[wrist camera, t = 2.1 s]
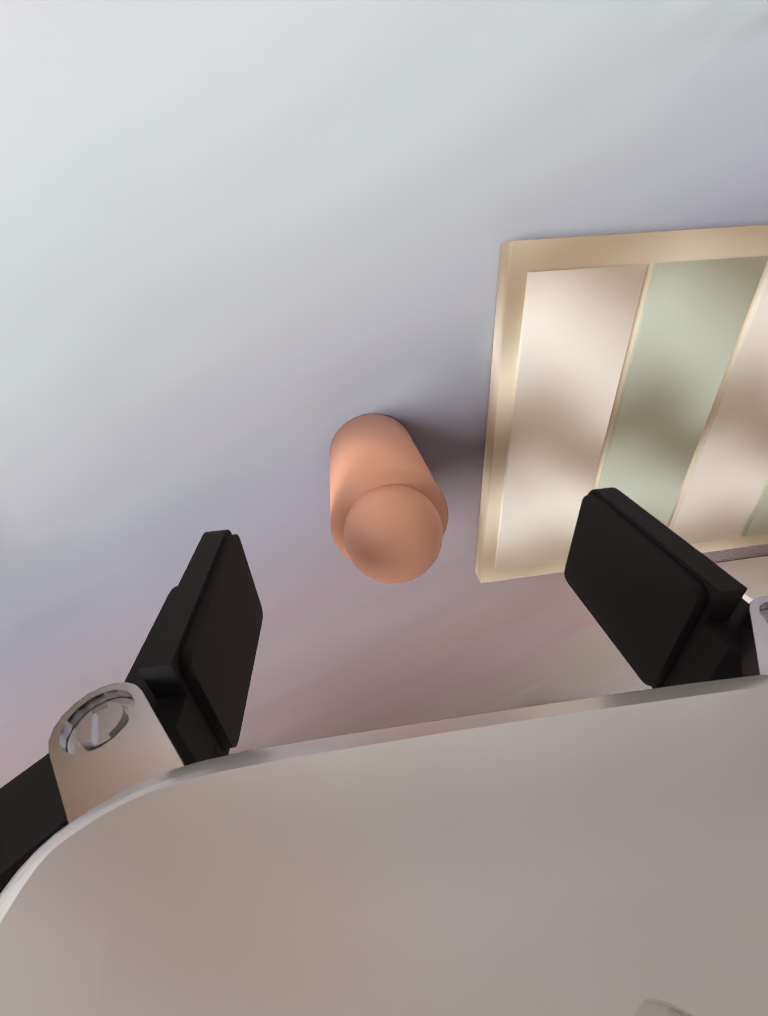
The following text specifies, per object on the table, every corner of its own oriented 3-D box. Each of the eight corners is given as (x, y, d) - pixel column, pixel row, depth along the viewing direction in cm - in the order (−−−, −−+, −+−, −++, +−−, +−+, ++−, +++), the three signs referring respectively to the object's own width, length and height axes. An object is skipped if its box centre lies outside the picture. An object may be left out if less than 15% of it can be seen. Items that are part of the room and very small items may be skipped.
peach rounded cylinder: (414, 488, 19) (465, 605, 12) (335, 497, 19) (340, 622, 12) (413, 409, 17) (472, 495, 10) (323, 418, 17) (322, 513, 10)
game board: (796, 528, 24) (817, 539, 23) (475, 571, 23) (482, 585, 22) (983, 213, 16) (1027, 208, 15) (501, 243, 14) (514, 240, 13)
